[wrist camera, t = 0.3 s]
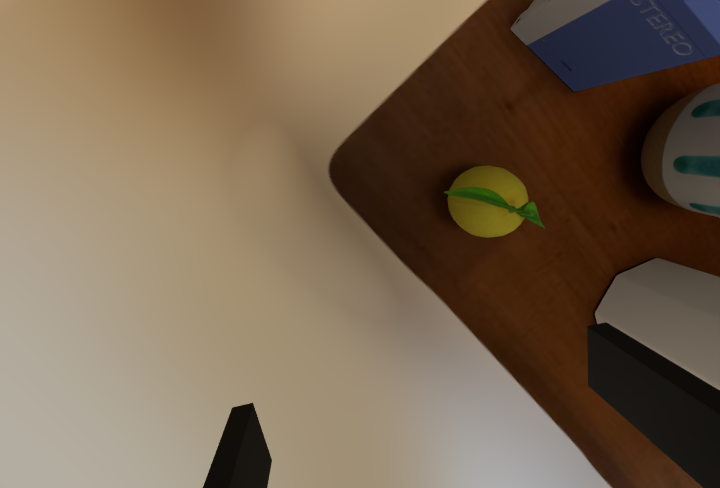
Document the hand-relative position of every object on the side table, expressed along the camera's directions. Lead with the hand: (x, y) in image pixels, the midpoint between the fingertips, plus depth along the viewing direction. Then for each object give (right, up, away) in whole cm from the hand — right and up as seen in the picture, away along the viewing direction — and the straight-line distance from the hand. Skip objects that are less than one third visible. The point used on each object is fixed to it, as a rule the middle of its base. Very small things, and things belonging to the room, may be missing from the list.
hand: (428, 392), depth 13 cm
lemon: (+7, +10, +18) cm, 21 cm away
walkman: (+13, +22, +15) cm, 30 cm away
